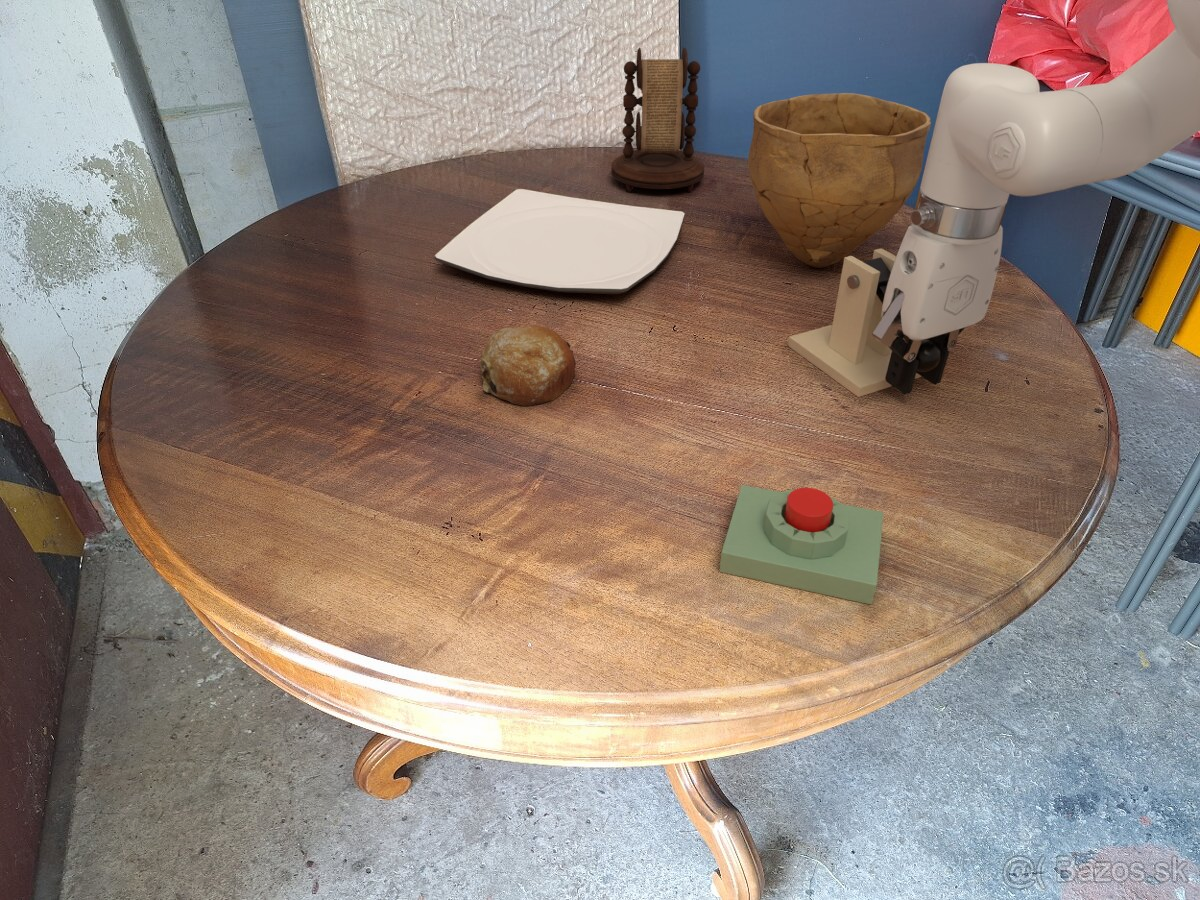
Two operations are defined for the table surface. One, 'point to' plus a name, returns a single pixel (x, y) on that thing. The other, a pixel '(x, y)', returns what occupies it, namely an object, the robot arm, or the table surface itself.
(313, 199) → the table surface
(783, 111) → the bowl
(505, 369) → the bread roll
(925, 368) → the black ball knob lever
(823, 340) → the lever bracket
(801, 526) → the button
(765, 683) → the table surface
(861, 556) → the button block
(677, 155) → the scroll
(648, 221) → the plate
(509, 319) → the table surface
